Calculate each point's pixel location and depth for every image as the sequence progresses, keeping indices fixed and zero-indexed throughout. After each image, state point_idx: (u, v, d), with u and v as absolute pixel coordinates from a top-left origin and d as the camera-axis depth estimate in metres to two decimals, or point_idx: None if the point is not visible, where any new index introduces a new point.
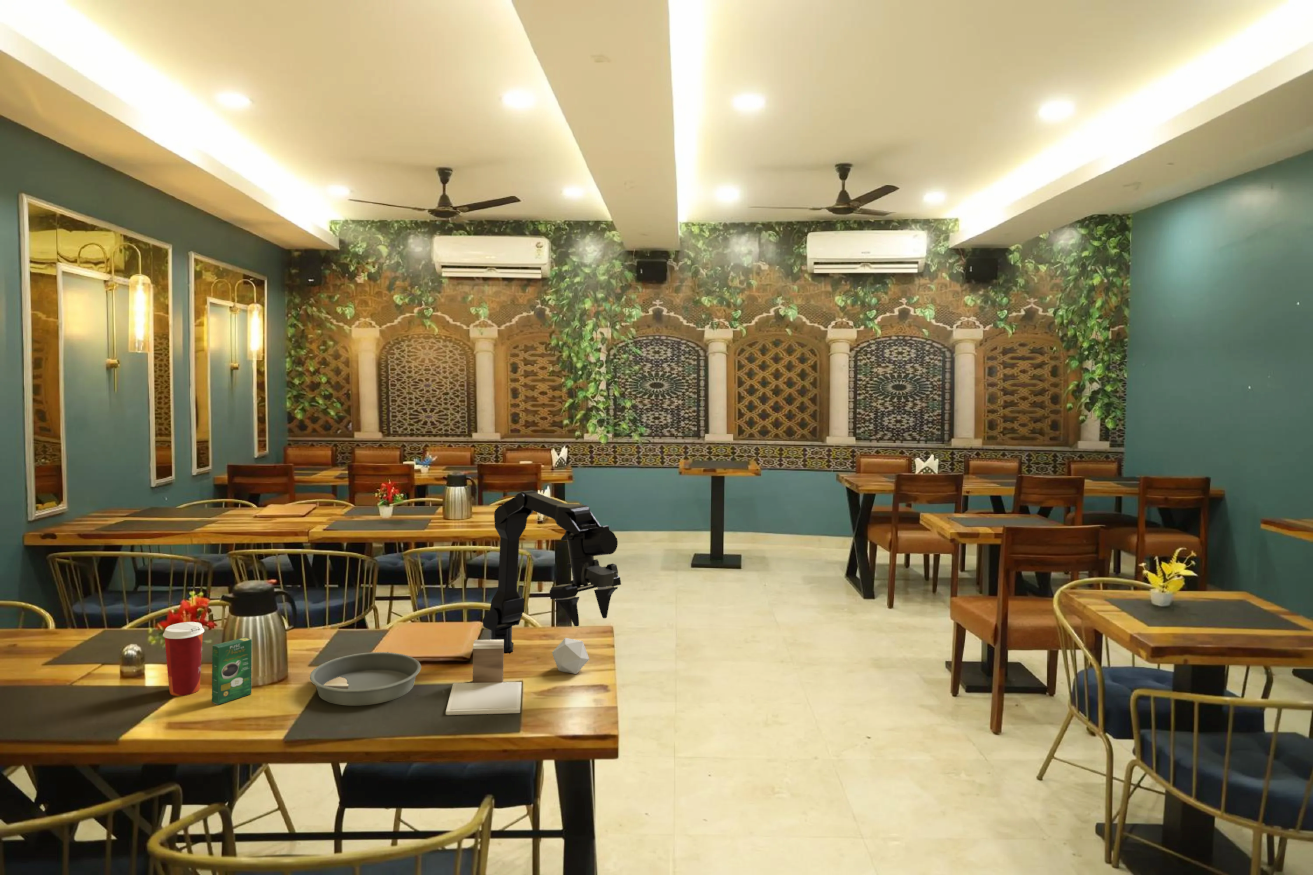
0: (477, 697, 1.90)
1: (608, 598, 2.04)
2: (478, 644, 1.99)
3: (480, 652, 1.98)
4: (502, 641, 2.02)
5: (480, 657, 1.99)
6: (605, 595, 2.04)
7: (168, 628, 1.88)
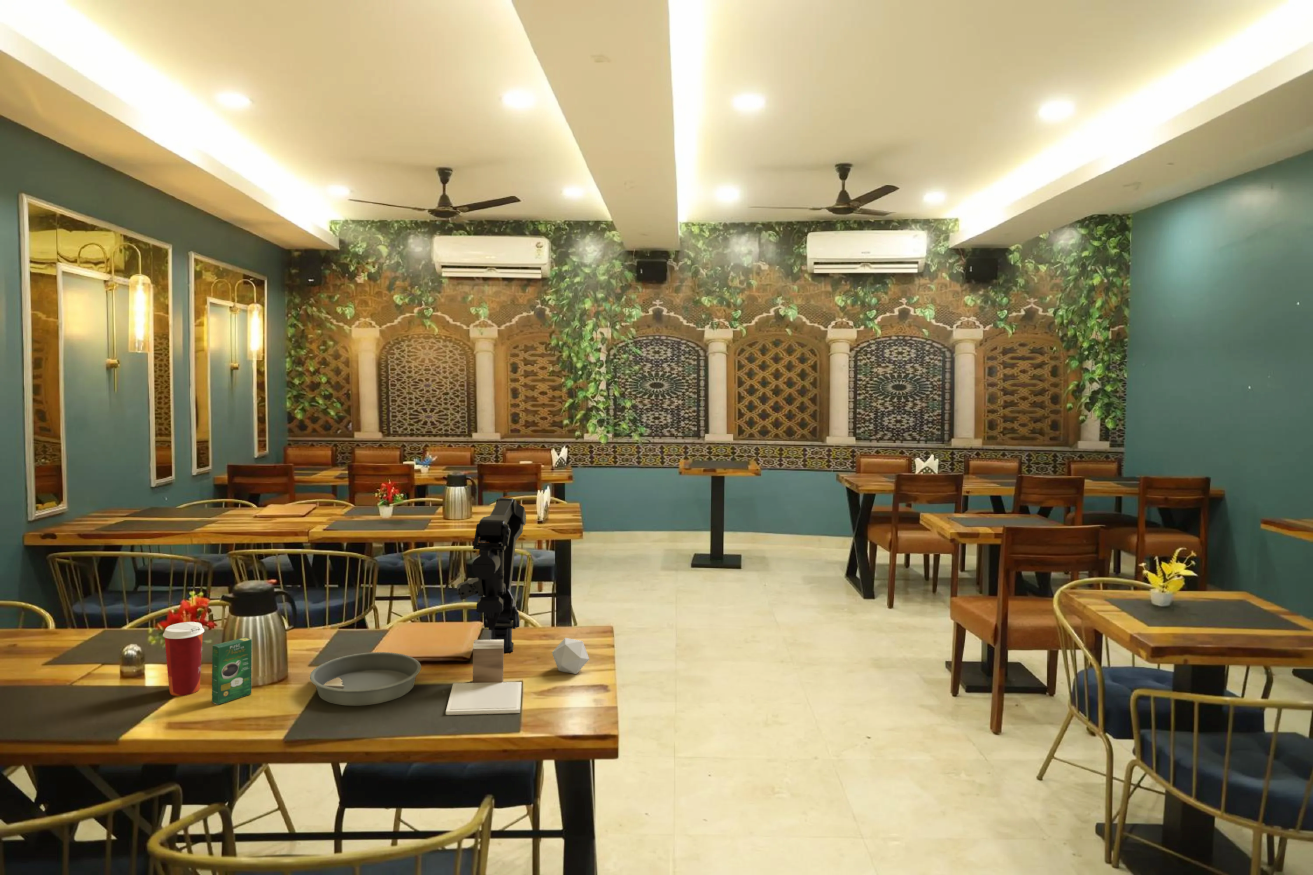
0: (477, 697, 1.90)
1: (485, 613, 2.09)
2: (478, 644, 1.99)
3: (480, 652, 1.98)
4: (502, 641, 2.02)
5: (480, 657, 1.99)
6: None
7: (168, 628, 1.88)
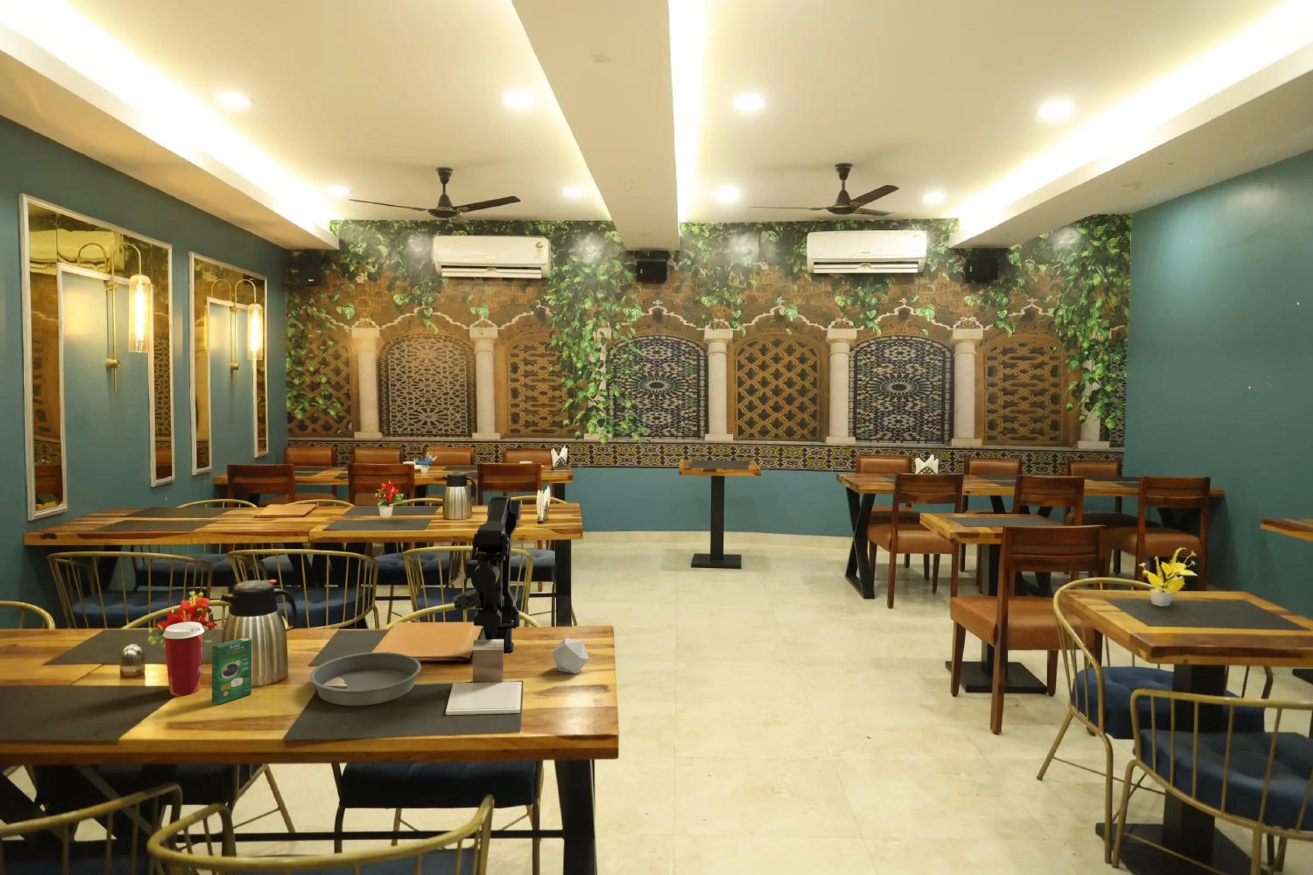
0: (477, 697, 1.90)
1: (483, 626, 2.01)
2: (478, 645, 1.98)
3: (480, 653, 1.98)
4: (502, 641, 2.01)
5: (480, 658, 1.98)
6: None
7: (168, 628, 1.88)
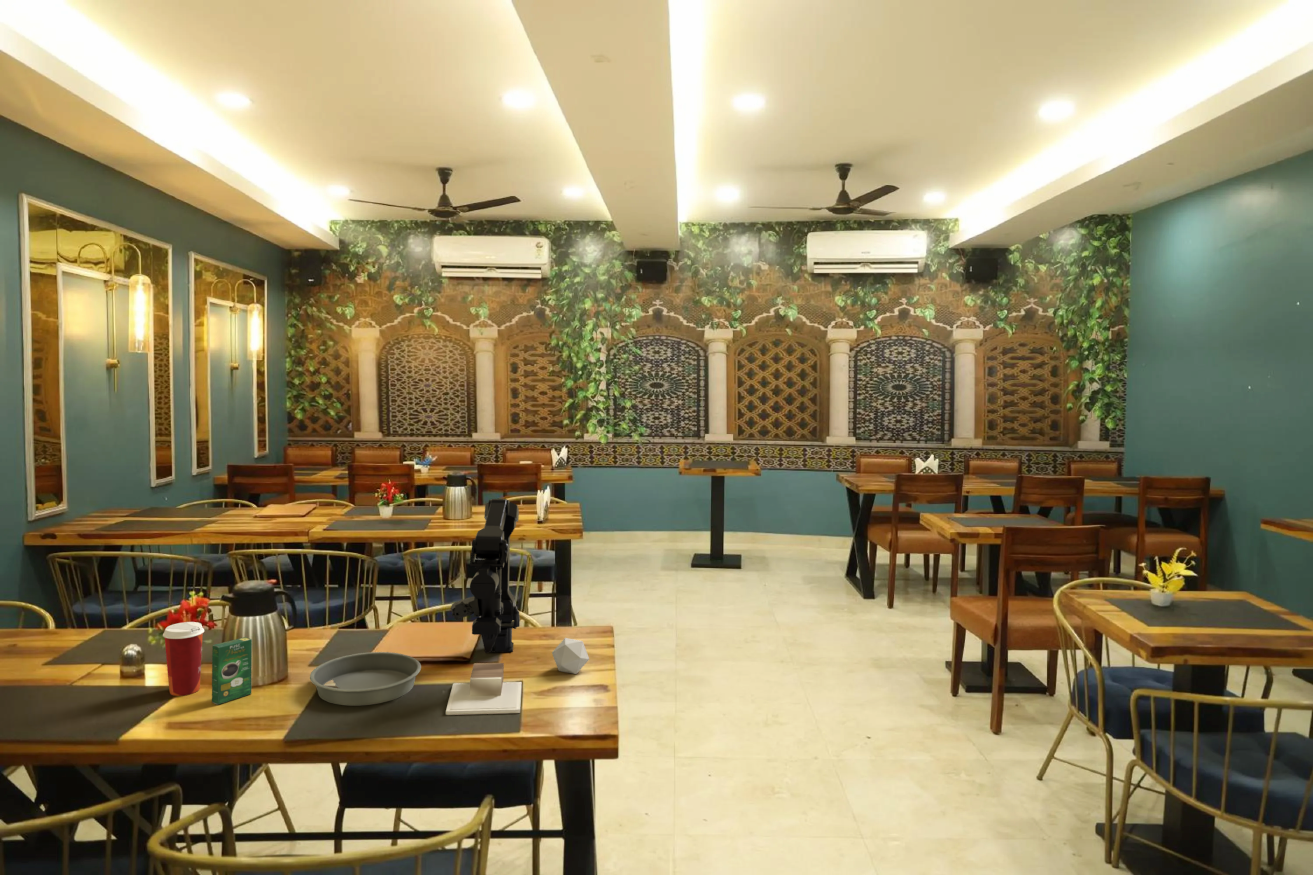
0: (477, 697, 1.90)
1: (481, 634, 1.96)
2: (475, 692, 1.91)
3: None
4: (499, 684, 1.92)
5: None
6: None
7: (168, 628, 1.88)
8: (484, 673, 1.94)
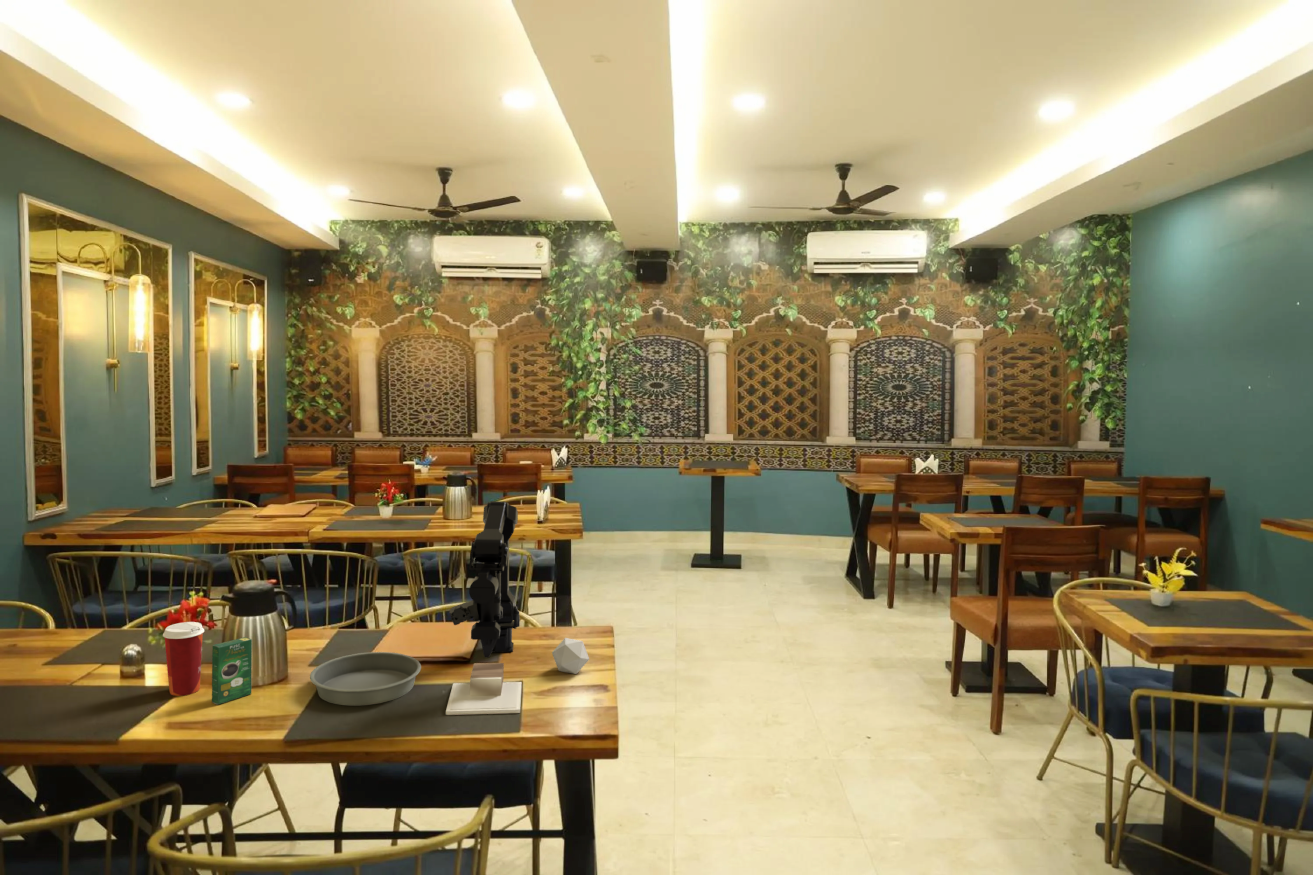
0: (477, 697, 1.90)
1: None
2: (475, 692, 1.91)
3: None
4: (499, 684, 1.92)
5: None
6: None
7: (168, 628, 1.88)
8: (484, 673, 1.94)
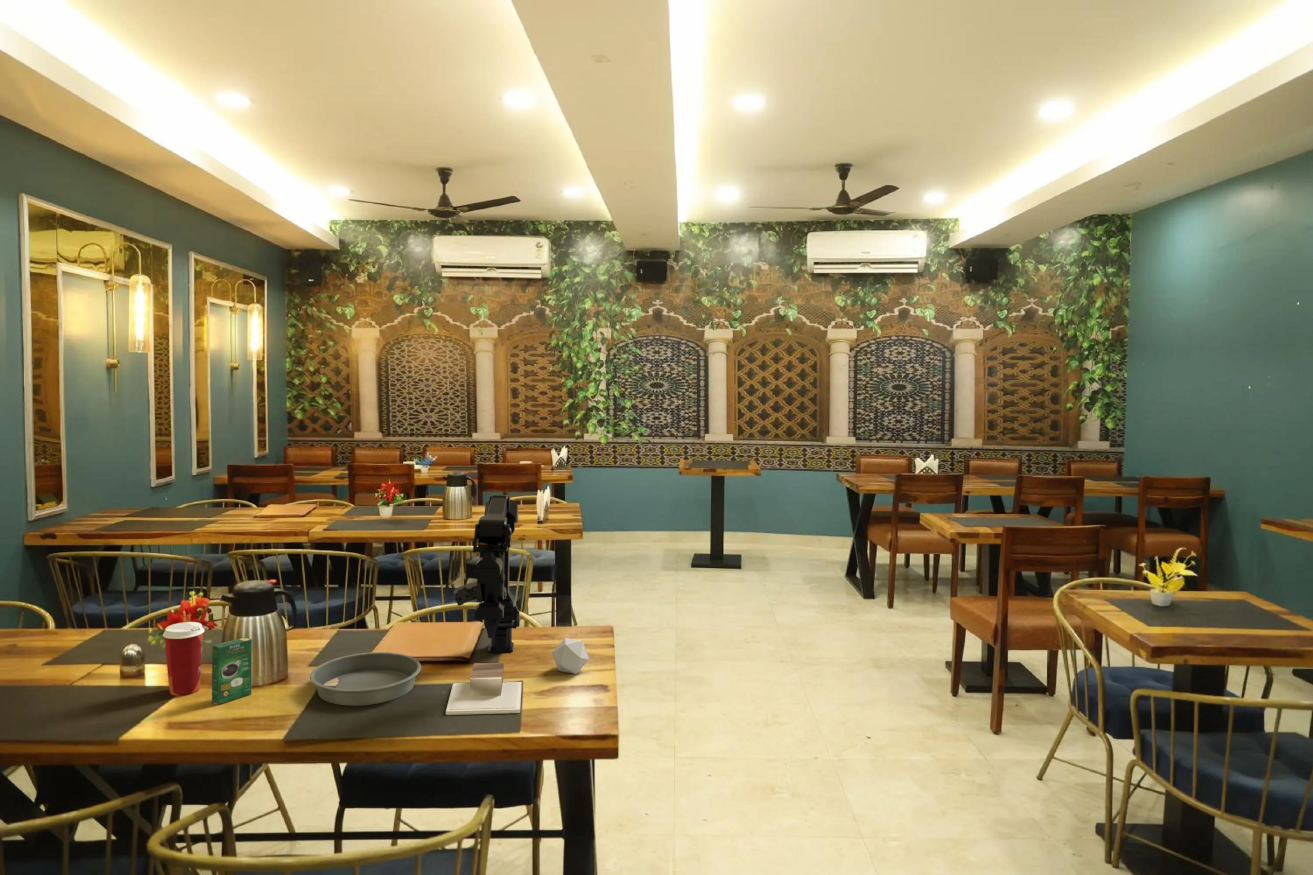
0: (477, 697, 1.90)
1: (484, 619, 1.94)
2: (475, 692, 1.91)
3: None
4: (499, 684, 1.92)
5: None
6: None
7: (168, 628, 1.88)
8: (484, 673, 1.94)
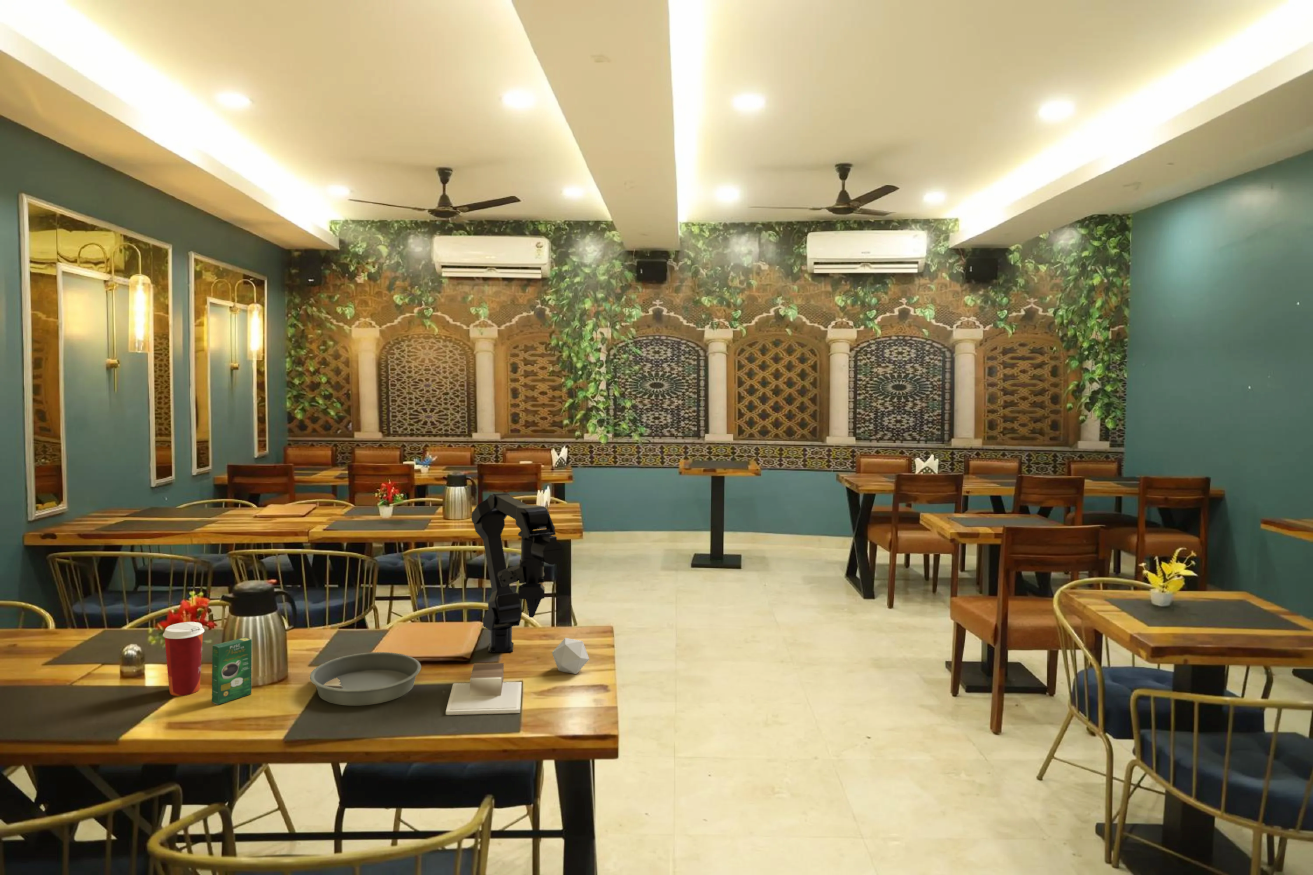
0: (477, 697, 1.90)
1: (526, 600, 2.10)
2: (475, 692, 1.91)
3: None
4: (499, 684, 1.92)
5: None
6: None
7: (168, 628, 1.88)
8: (484, 673, 1.94)
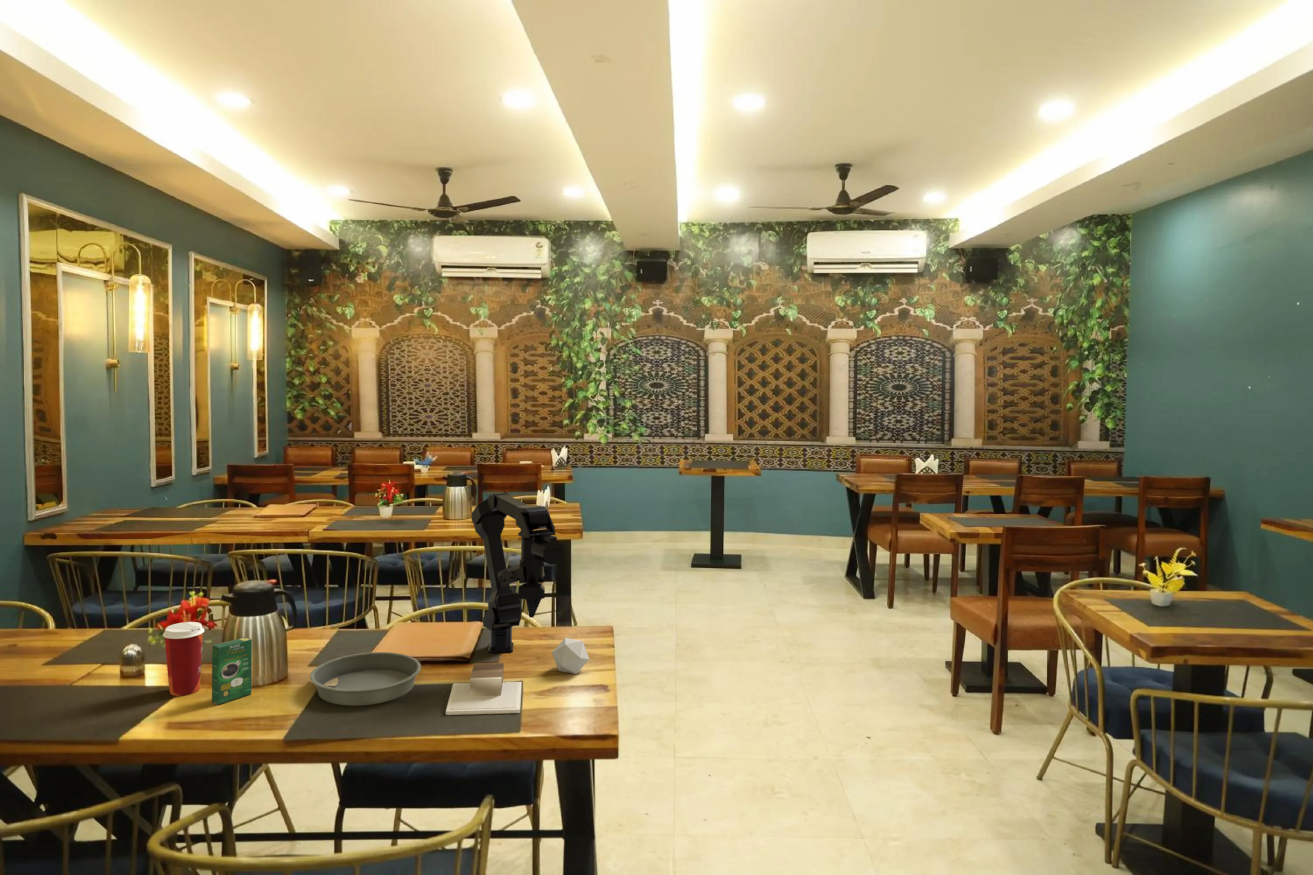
0: (477, 697, 1.90)
1: (526, 600, 2.10)
2: (475, 692, 1.91)
3: None
4: (499, 684, 1.92)
5: None
6: None
7: (168, 628, 1.88)
8: (484, 673, 1.94)
